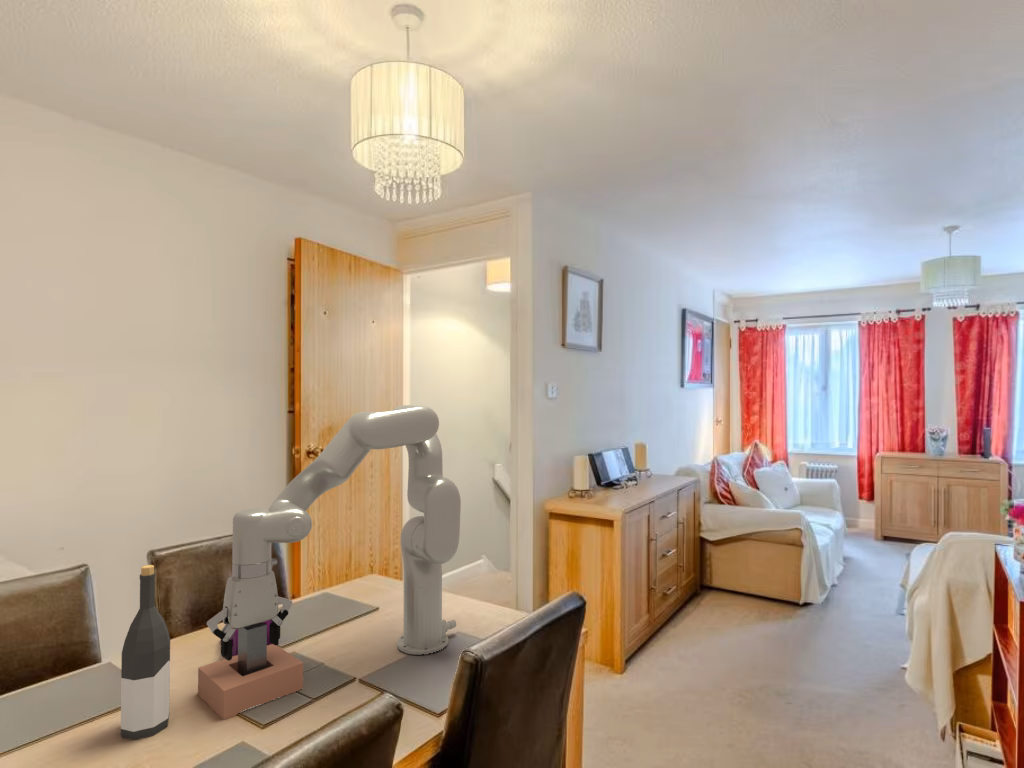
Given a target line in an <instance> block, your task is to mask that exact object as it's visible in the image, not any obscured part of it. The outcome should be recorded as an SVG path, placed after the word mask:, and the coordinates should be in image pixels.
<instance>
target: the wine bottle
mask: <svg viewBox="0 0 1024 768" xmlns="http://www.w3.org/2000/svg"><path fill="white" fill-rule="evenodd" d="M140 569H141V573H140V574H139V608H138V612H137V613H136V615H135V617H134V618H133V620H132V622H131V623H130V625H129V629H128V631H127V634H126V636H125V638H124V643H123V646H122V650H121V665H120V666H121V669H120V671H121V674H120V675H121V679H120V681H121V683H120V688H121V689H120V737H121V738H124V739H127V740H132V741H135V740H140V739H144V738H148V737H153V736H155V735H157V734H158V733H159V732H162V731H163V730H164V729H166V728H168V726H169V719H170V704H171V703H170V700H171V699H170V697H171V696H170V692H171V691H170V690H171V689H170V687H171V685H170V684H171V637H170V631H169V628H168V626H167V623H166V621H165V619H164V617H163V616H162V615H161V613H160V612H159V610H158V609H157V607H156V605H155V598H156V597H155V593H156V591H155V588H156V587H155V584H156V583H155V582H156V581H155V580H156V579H155V578H156V572H155V571H154V569H155V566H154V565H152V564H147V565H143V566H141V568H140Z"/></svg>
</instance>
